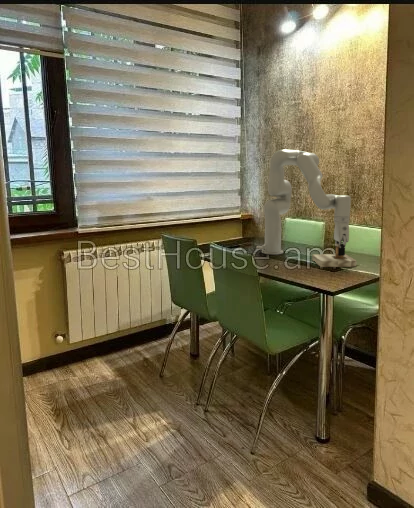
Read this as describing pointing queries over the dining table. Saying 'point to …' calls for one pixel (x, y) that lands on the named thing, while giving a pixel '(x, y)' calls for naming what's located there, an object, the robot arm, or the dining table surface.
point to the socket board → (333, 260)
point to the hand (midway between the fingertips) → (339, 254)
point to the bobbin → (337, 252)
